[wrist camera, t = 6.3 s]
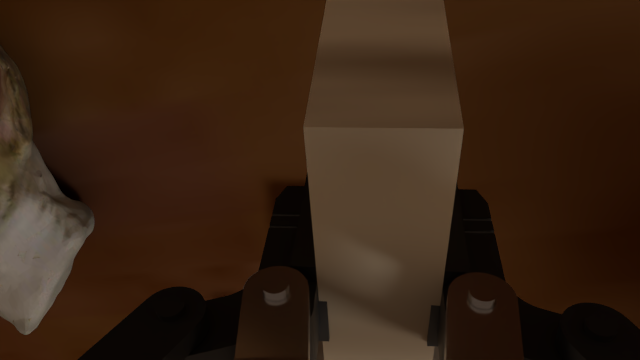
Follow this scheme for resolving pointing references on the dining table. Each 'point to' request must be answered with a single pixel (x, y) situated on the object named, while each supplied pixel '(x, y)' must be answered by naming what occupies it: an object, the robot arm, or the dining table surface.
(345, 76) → the beige rectangular block
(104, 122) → the dining table surface
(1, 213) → the ceramic sculpture
